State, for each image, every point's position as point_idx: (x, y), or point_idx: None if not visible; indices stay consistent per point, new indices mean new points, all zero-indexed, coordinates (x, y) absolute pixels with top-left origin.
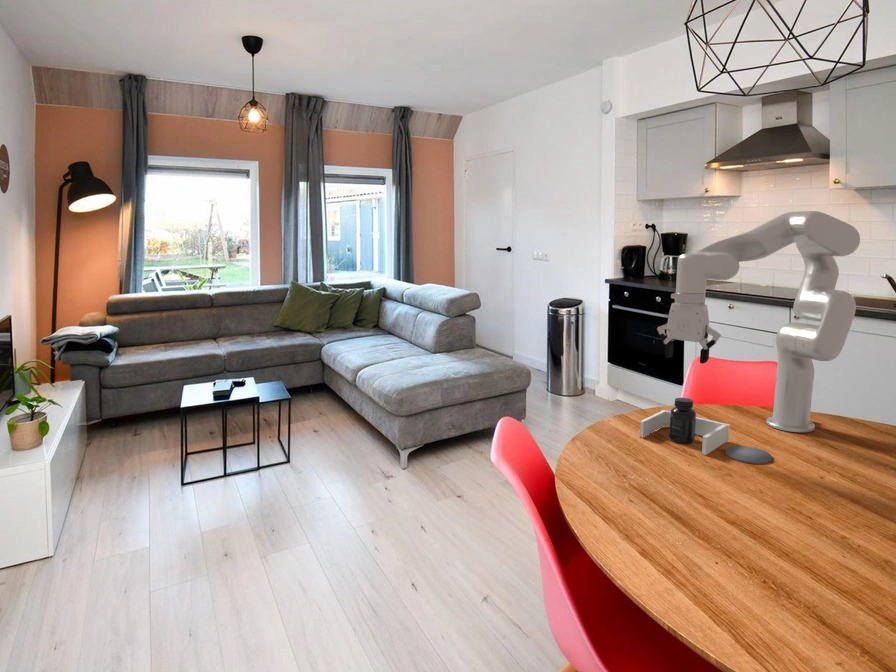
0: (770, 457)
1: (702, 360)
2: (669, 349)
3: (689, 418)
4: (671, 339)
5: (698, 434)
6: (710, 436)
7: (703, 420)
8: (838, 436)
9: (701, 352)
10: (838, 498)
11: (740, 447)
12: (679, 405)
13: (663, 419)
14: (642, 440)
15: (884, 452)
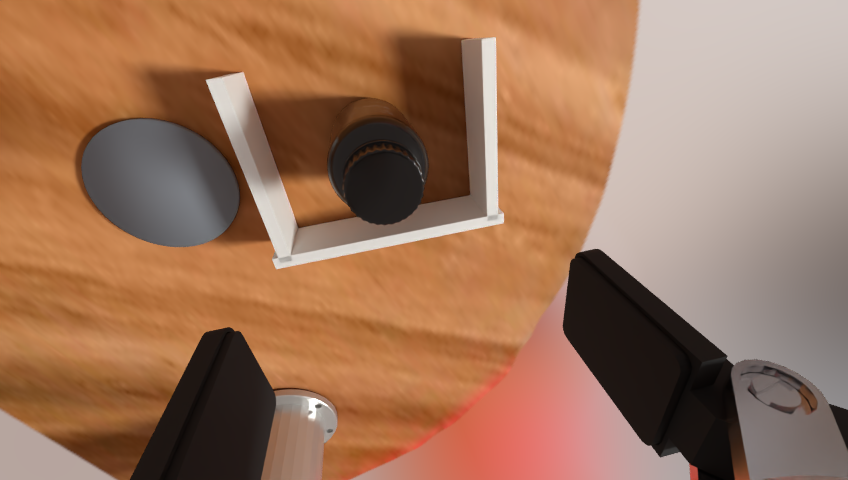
0: (107, 213)
1: (194, 357)
2: (628, 330)
3: (331, 143)
4: (739, 477)
5: None
6: (223, 119)
7: (357, 241)
8: None
9: (164, 446)
10: None
11: (218, 215)
12: (379, 145)
13: (478, 195)
14: (450, 19)
15: (65, 442)
